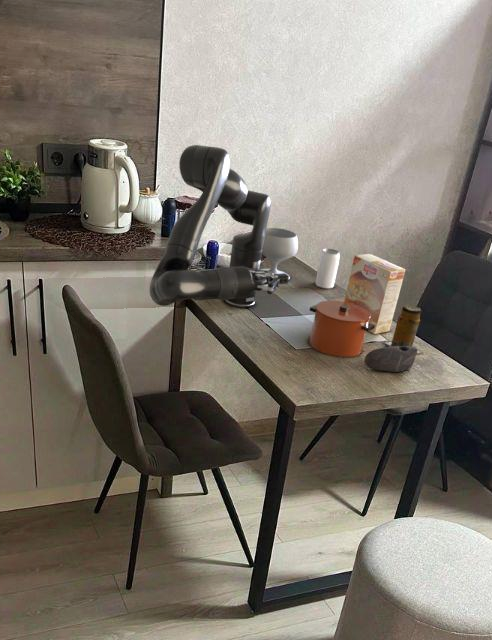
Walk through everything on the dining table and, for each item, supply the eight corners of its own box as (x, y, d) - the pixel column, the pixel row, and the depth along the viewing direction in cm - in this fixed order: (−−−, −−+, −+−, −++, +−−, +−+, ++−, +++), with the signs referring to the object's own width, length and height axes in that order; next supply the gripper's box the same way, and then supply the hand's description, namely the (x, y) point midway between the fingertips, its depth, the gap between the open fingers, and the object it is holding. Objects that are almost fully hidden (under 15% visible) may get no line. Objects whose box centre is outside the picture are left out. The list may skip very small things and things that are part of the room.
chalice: (264, 283, 246) (271, 239, 237) (246, 270, 256) (252, 226, 248) (299, 282, 251) (307, 239, 243) (280, 269, 261) (287, 226, 253)
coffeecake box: (340, 316, 228) (353, 254, 217) (355, 313, 232) (370, 252, 221) (374, 334, 218) (390, 271, 208) (390, 331, 222) (406, 268, 211)
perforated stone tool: (364, 373, 194) (371, 349, 190) (359, 364, 198) (364, 341, 194) (417, 375, 197) (424, 352, 193) (410, 367, 201) (417, 344, 197)
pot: (293, 341, 206) (301, 302, 200) (320, 328, 217) (328, 290, 211) (351, 364, 198) (361, 323, 191) (376, 349, 209) (386, 310, 202)
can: (334, 289, 249) (341, 255, 242) (316, 287, 249) (322, 252, 242) (332, 283, 254) (339, 249, 248) (314, 281, 254) (320, 247, 247)
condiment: (403, 341, 217) (414, 302, 210) (421, 353, 211) (433, 314, 204) (384, 343, 214) (394, 304, 207) (401, 355, 207) (413, 315, 201)
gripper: (245, 277, 169) (304, 272, 177) (217, 259, 178) (274, 255, 186) (241, 307, 173) (299, 301, 181) (213, 288, 182) (270, 283, 190)
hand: (286, 278), depth 184 cm, fingers closed
